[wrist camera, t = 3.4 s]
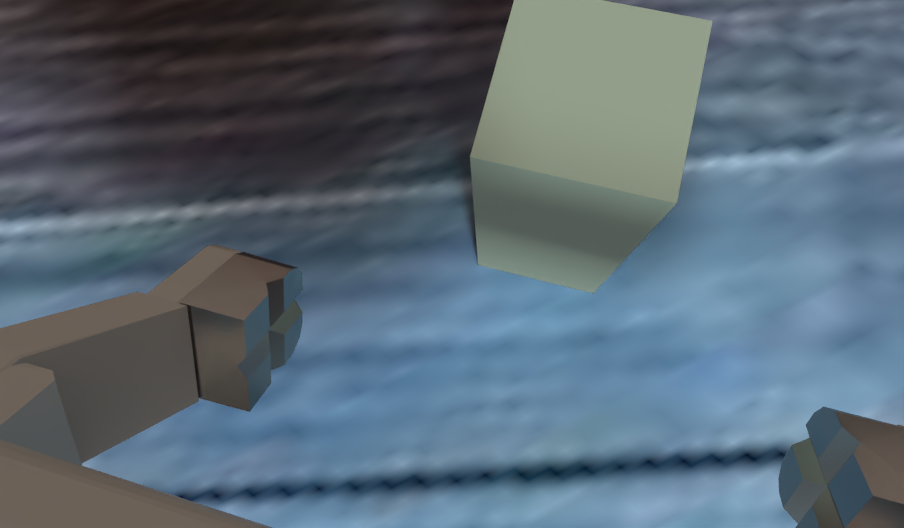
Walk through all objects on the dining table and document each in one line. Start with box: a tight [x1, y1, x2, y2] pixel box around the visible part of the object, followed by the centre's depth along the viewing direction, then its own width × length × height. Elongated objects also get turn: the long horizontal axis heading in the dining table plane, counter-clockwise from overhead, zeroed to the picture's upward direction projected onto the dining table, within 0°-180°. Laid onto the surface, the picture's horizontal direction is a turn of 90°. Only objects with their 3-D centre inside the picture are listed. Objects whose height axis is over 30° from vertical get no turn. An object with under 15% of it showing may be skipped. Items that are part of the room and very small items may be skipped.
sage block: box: [470, 0, 712, 293], centre depth 16 cm, size 4×4×9 cm
